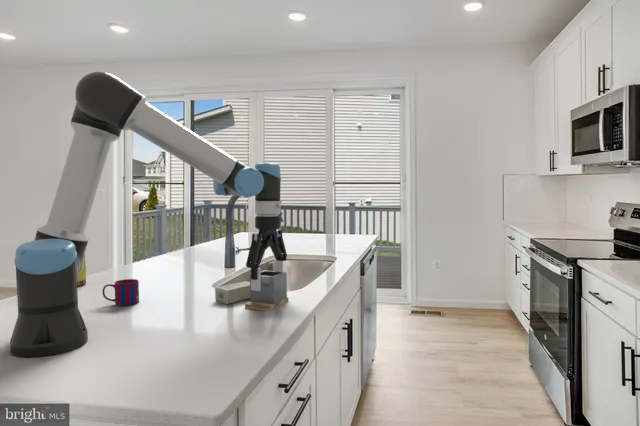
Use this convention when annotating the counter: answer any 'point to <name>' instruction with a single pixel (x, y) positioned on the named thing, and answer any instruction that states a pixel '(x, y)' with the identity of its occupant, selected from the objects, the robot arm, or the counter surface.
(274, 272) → the hollow grey cube box
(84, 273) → the sauce bottle
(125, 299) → the mug
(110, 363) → the counter surface
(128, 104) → the robot arm
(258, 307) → the block
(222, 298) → the skincare box
